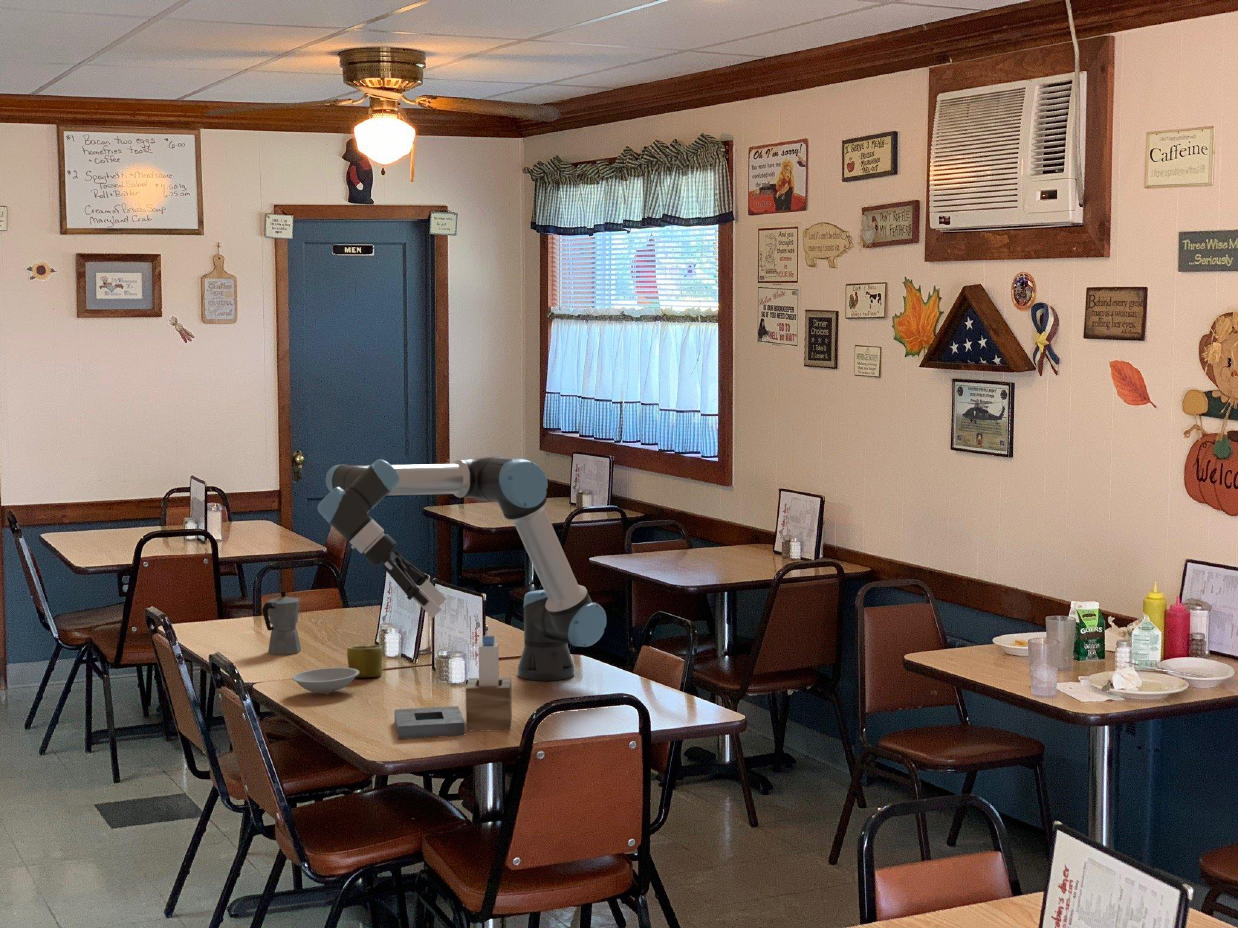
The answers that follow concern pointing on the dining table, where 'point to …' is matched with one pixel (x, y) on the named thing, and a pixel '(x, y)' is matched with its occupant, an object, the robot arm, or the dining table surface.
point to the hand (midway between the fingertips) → (440, 608)
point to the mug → (366, 660)
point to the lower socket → (429, 722)
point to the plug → (488, 662)
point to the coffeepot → (282, 624)
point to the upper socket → (488, 705)
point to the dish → (325, 679)
